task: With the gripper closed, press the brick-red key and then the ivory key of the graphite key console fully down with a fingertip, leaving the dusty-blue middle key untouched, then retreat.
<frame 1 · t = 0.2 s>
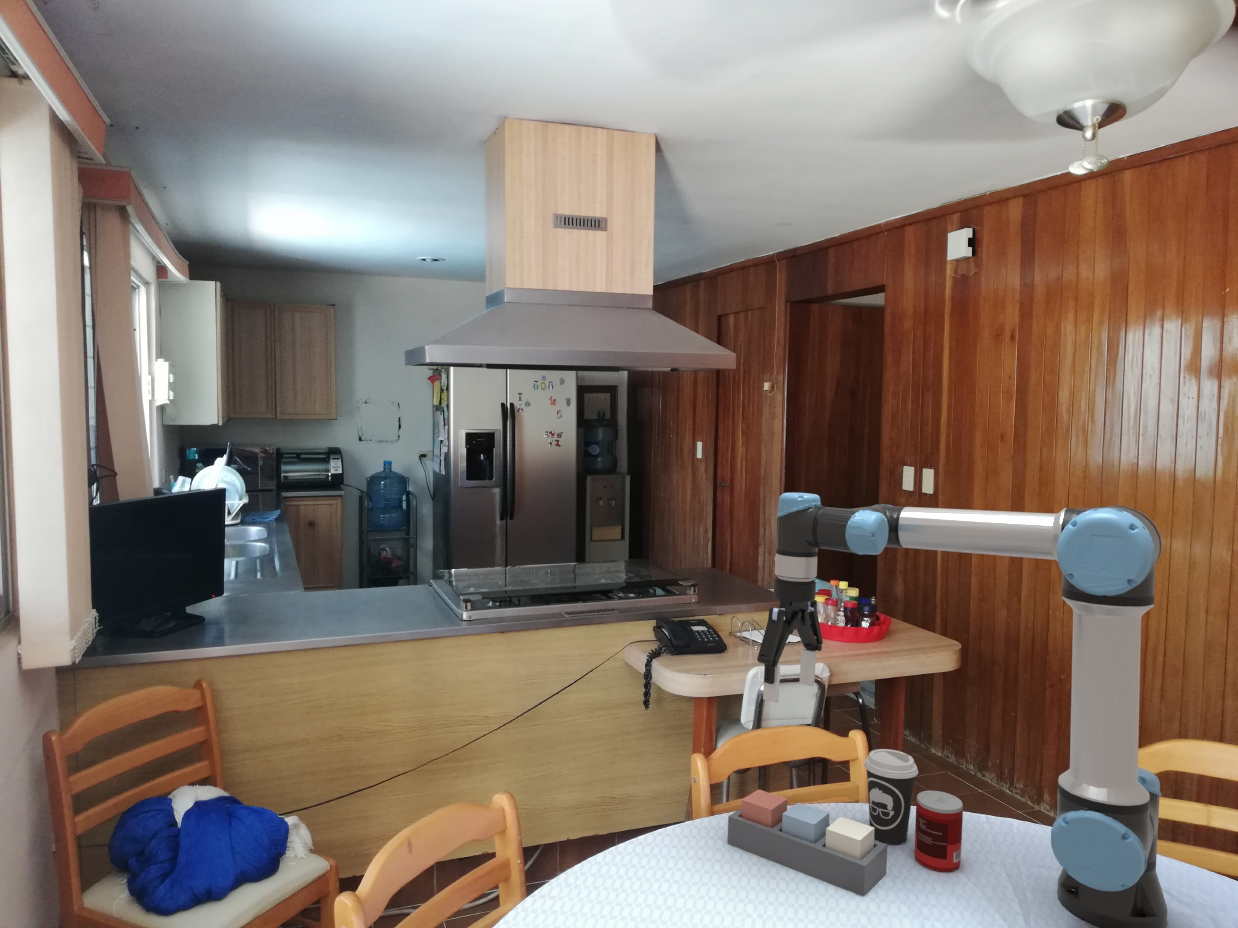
hand: (789, 692, 153), 27 cm above the table, fingers open, 13 cm apart
key blue: (805, 824, 146), point 6 cm above the table, slide at 0.0 cm
key brick: (764, 809, 151), point 6 cm above the table, slide at 0.0 cm
console: (804, 857, 147), on the table
coffee cup: (888, 837, 155), on the table
key ivory: (849, 839, 141), point 6 cm above the table, slide at 0.0 cm
canned food: (937, 861, 147), on the table
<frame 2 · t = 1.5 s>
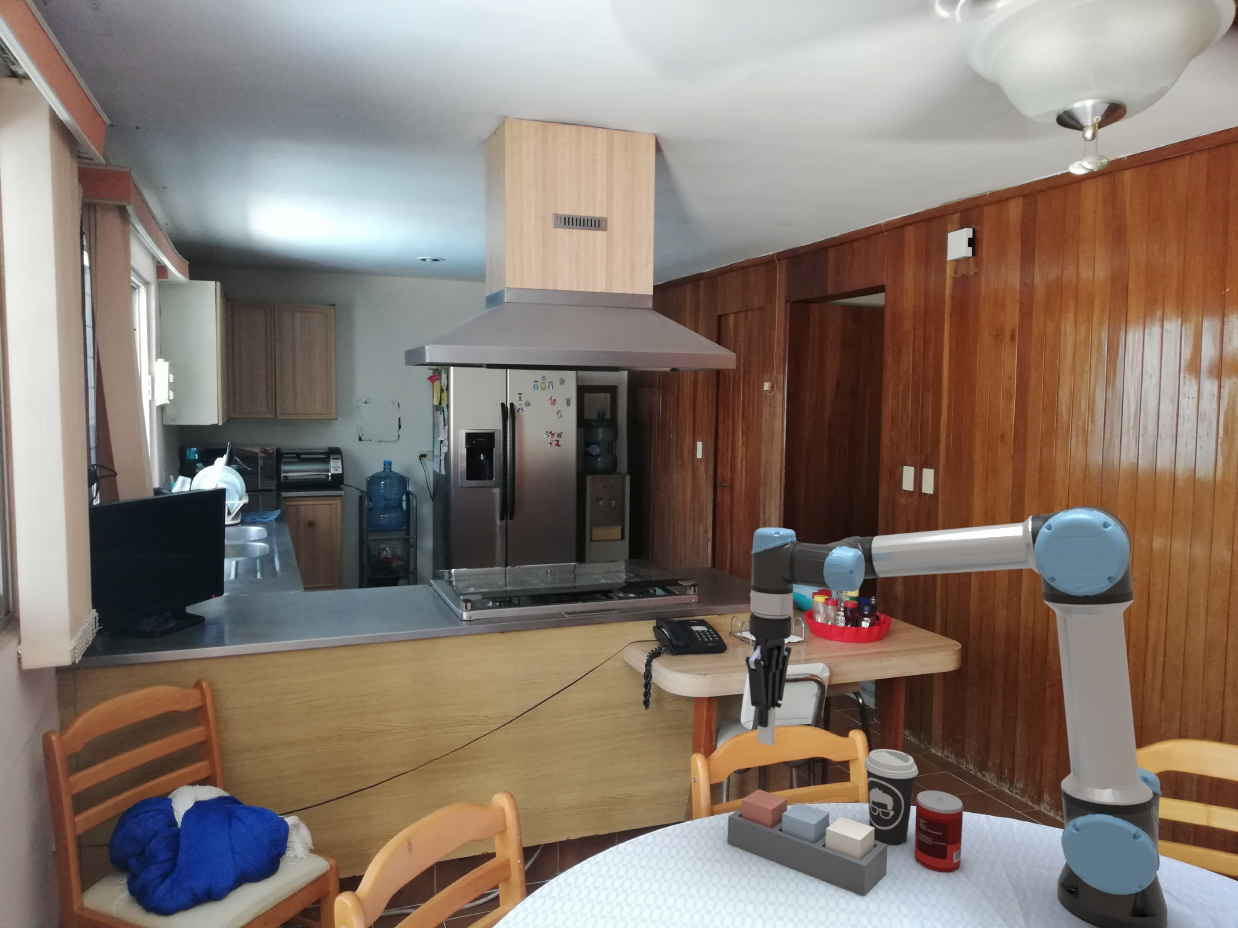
hand: (765, 742, 151), 18 cm above the table, fingers closed
nothing on the table moved.
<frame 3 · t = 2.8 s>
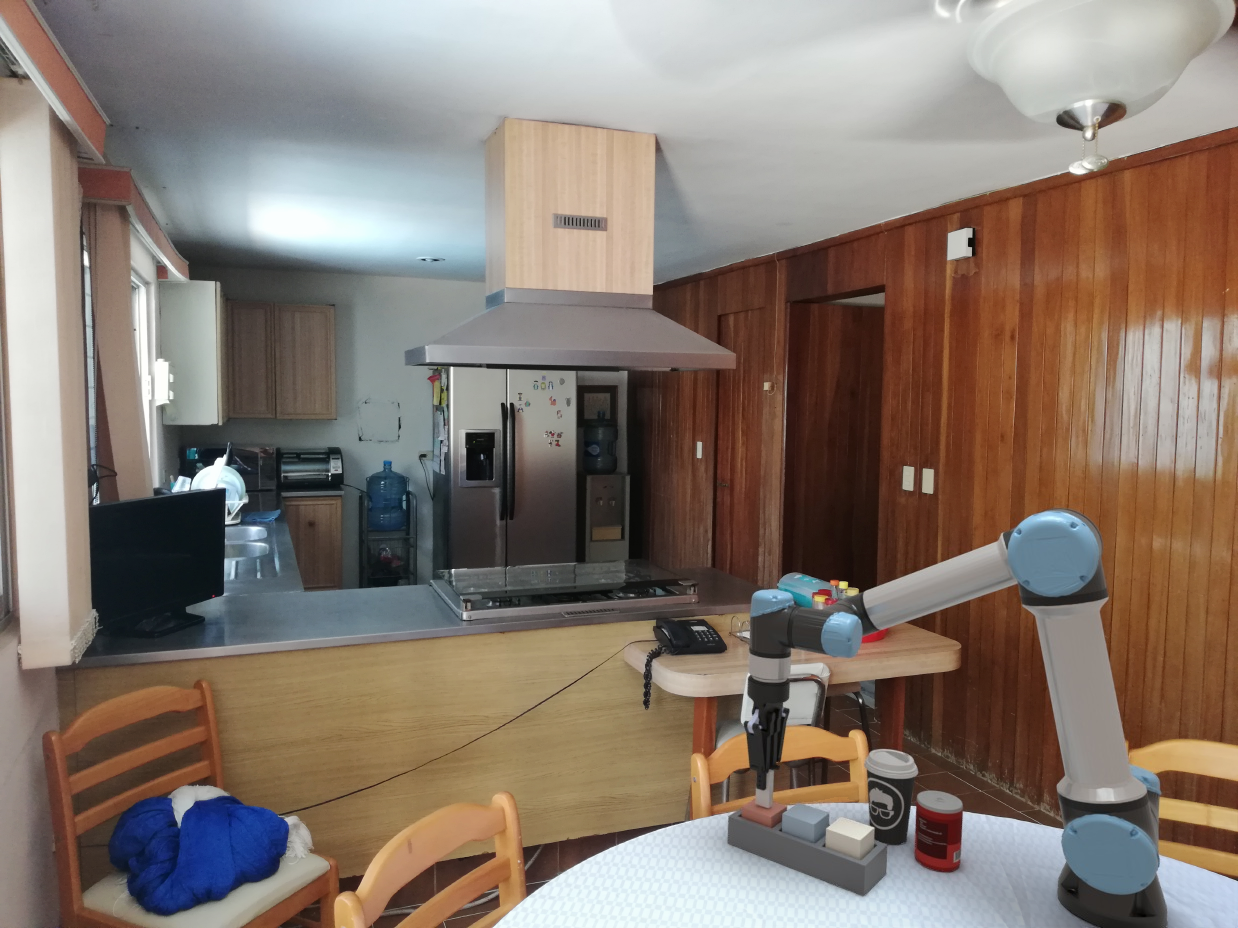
hand: (763, 804, 152), 7 cm above the table, fingers closed
key brick: (764, 816, 152), point 5 cm above the table, slide at 1.3 cm, touching gripper
everything else where it was.
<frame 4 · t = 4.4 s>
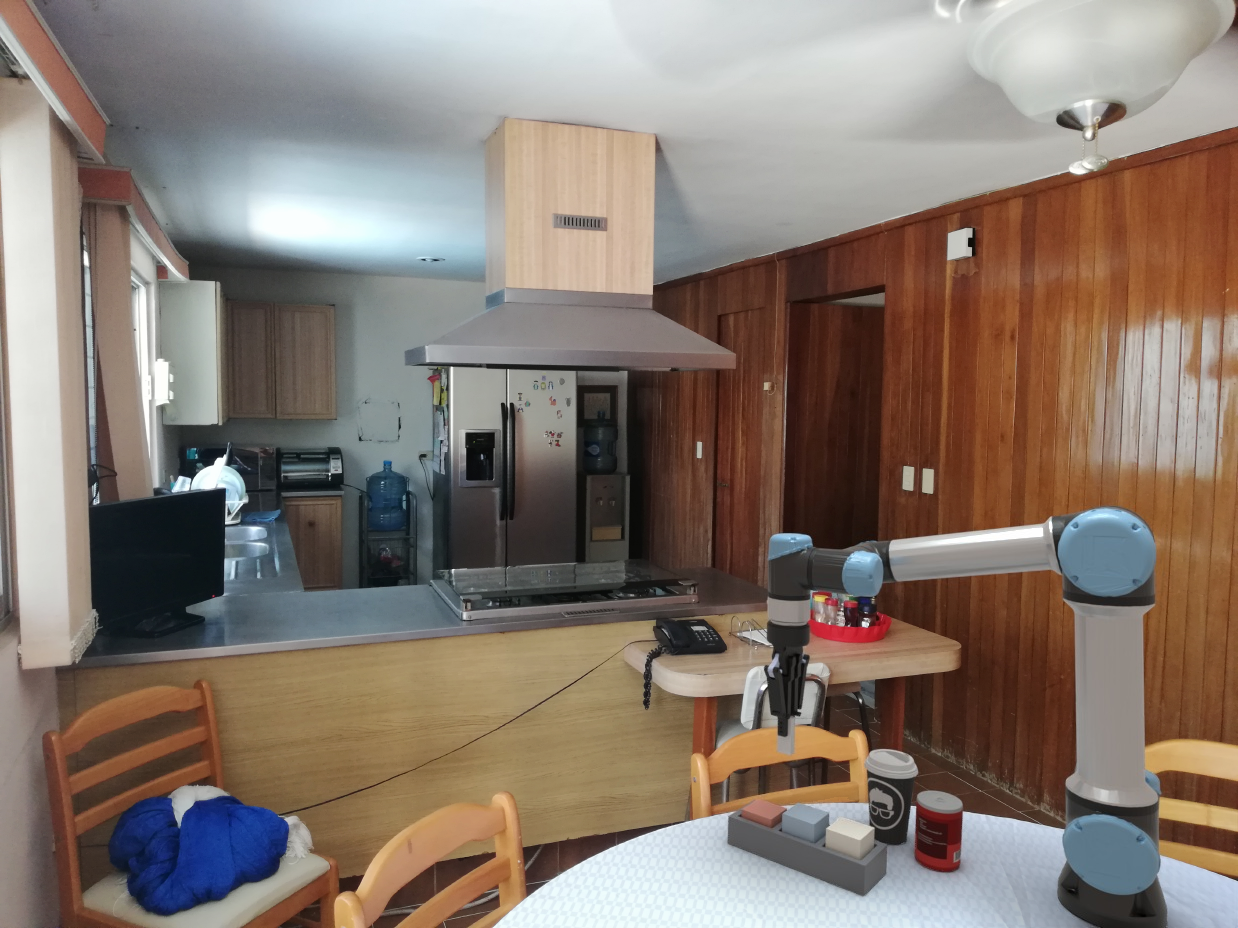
hand: (785, 752, 149), 18 cm above the table, fingers closed
key brick: (764, 819, 152), point 4 cm above the table, slide at 1.8 cm
everything else where it was.
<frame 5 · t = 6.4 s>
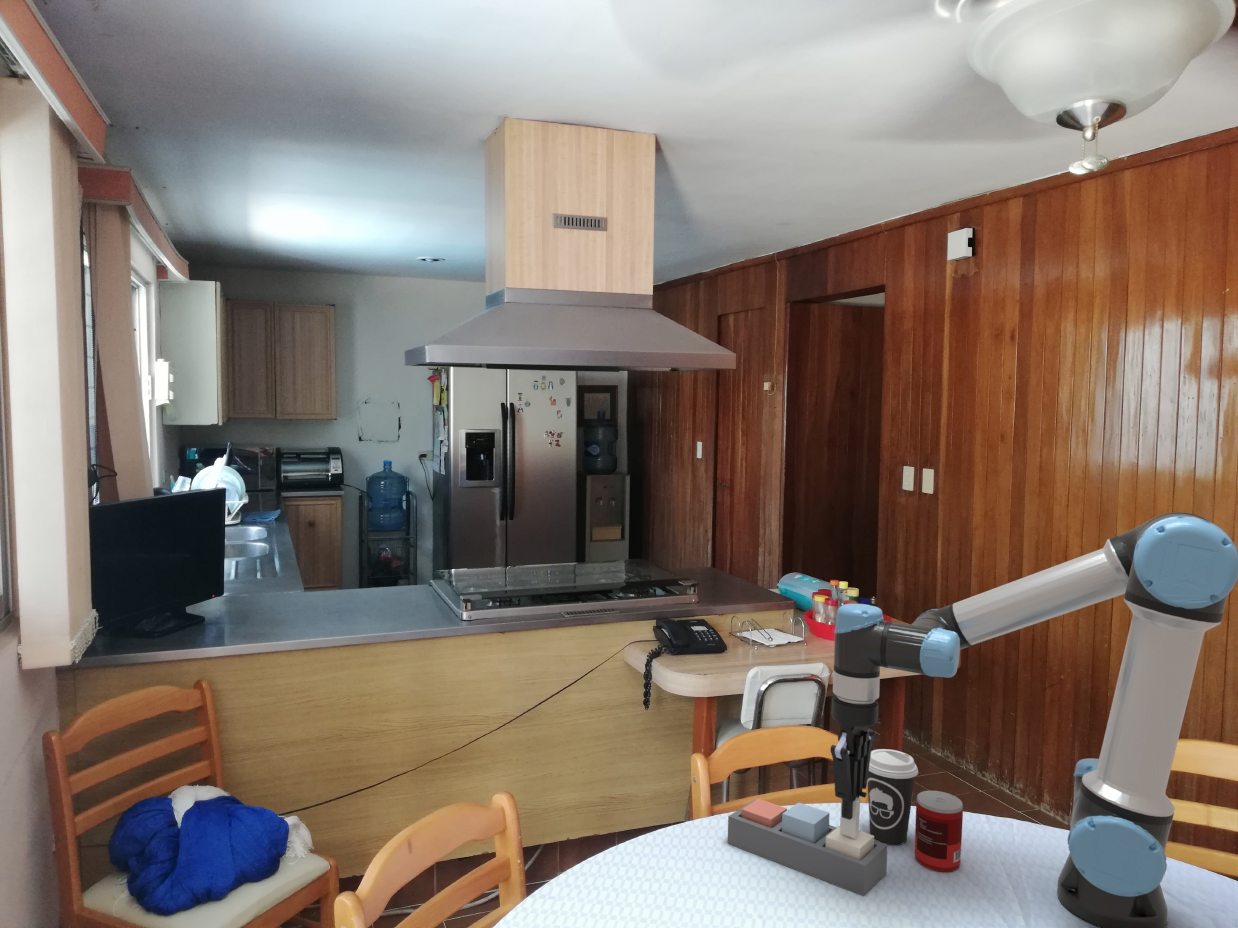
hand: (849, 834, 141), 7 cm above the table, fingers closed
key ivory: (849, 847, 141), point 5 cm above the table, slide at 1.4 cm, touching gripper
everything else where it was.
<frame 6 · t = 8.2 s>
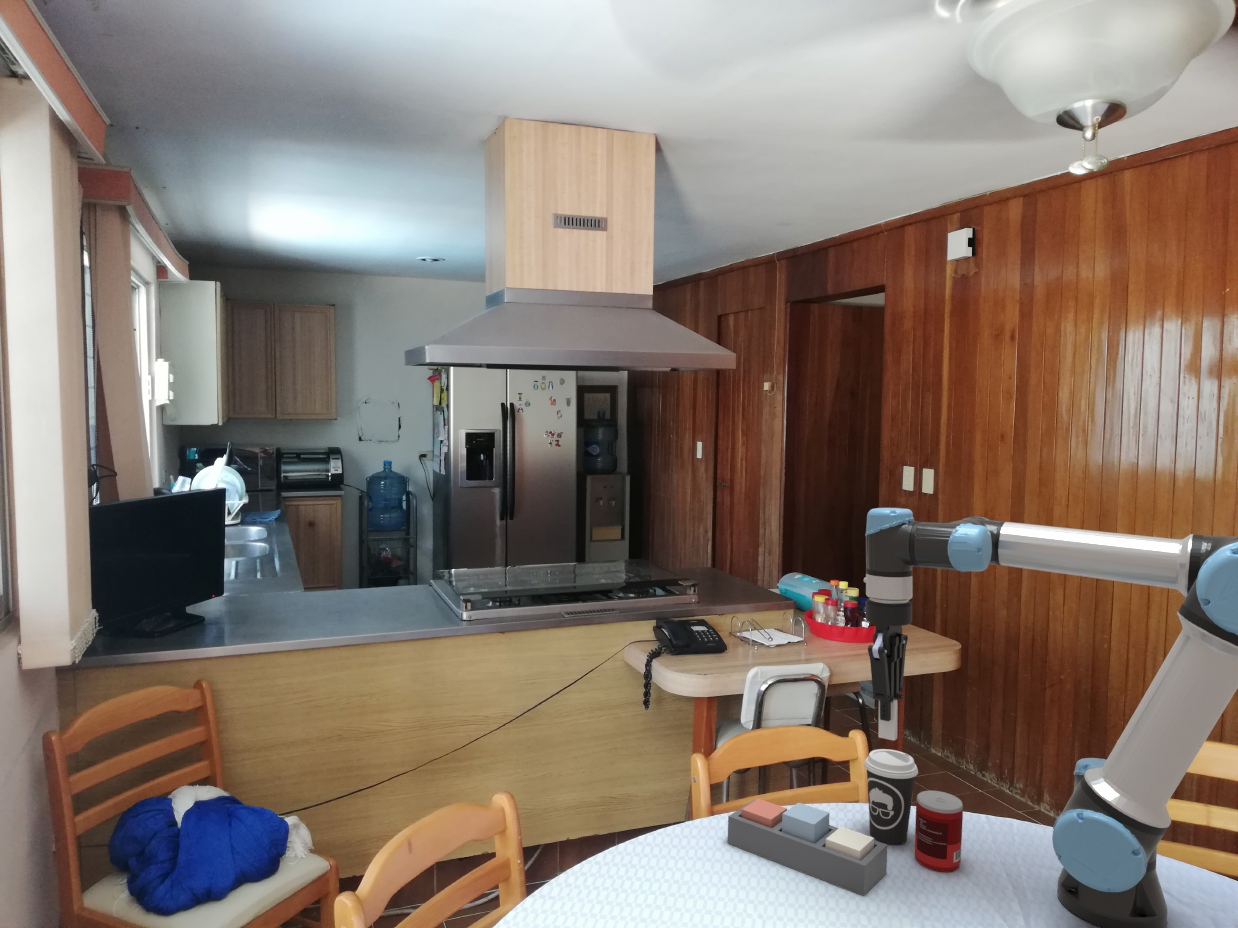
hand: (887, 737, 142), 23 cm above the table, fingers closed
key ivory: (849, 849, 141), point 4 cm above the table, slide at 1.8 cm
everything else where it was.
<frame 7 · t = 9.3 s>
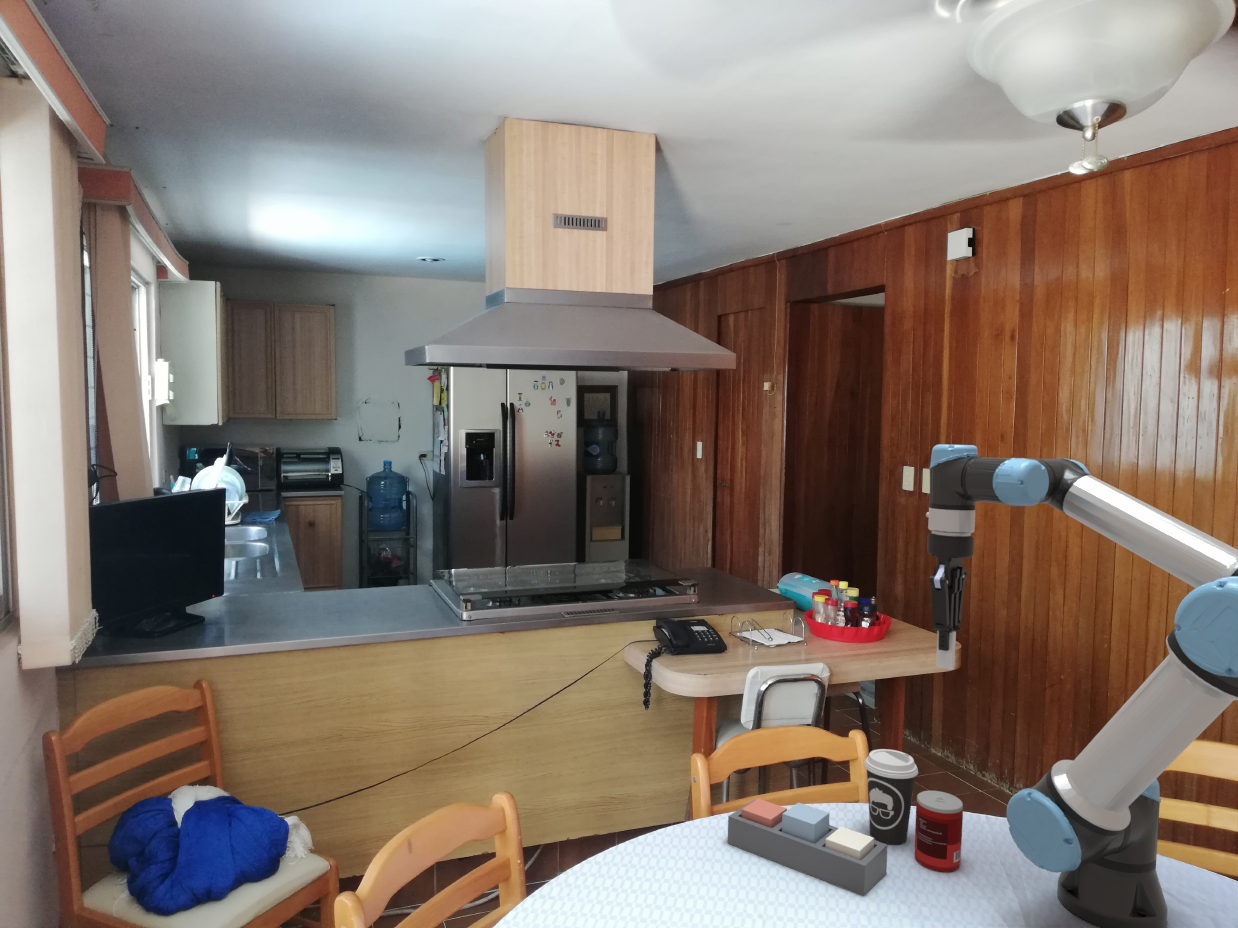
hand: (945, 667, 145), 34 cm above the table, fingers closed
nothing on the table moved.
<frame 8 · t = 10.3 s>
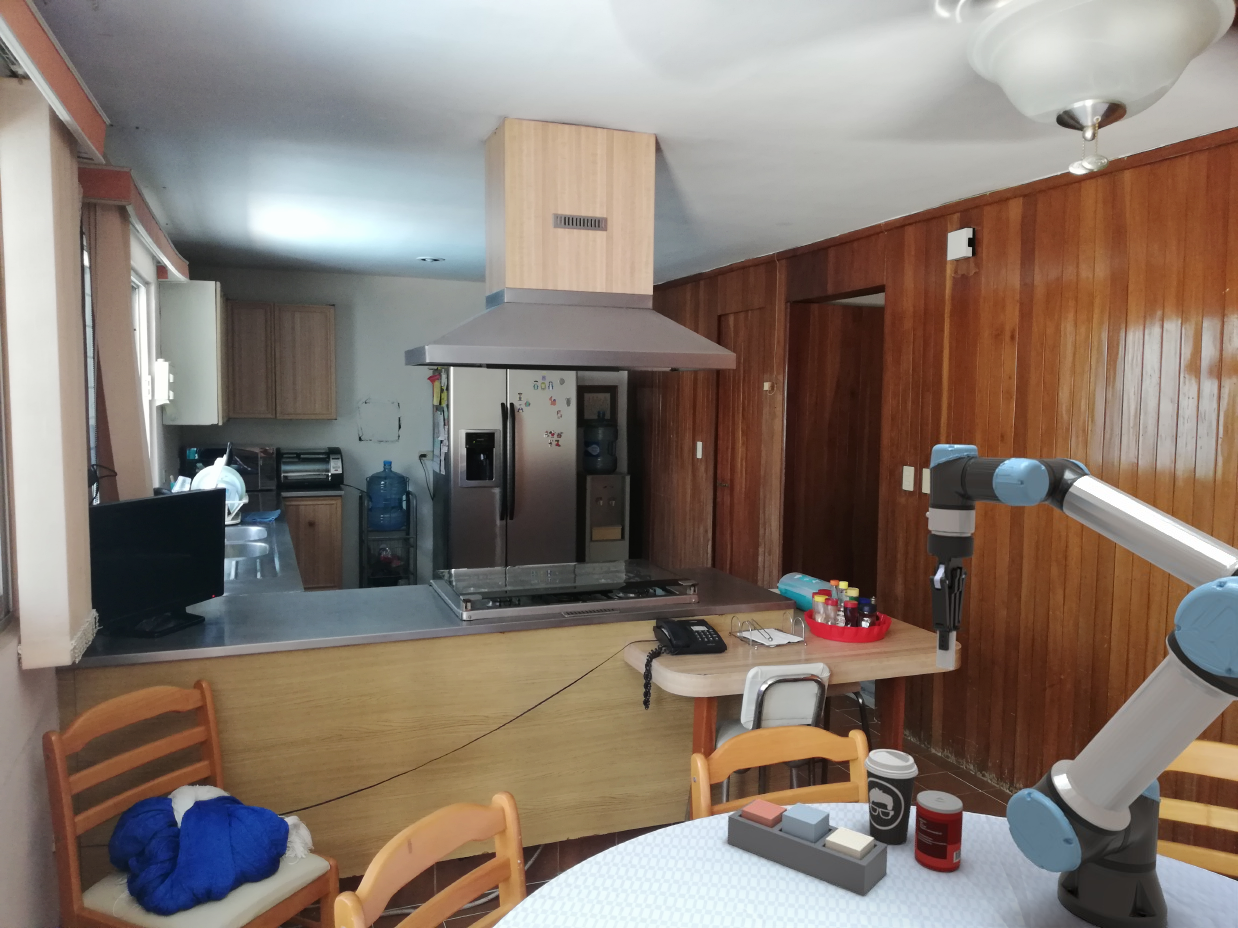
hand: (945, 667, 146), 34 cm above the table, fingers closed
nothing on the table moved.
at the end: key brick slide at 1.8 cm; key ivory slide at 1.8 cm; key blue slide at 0.0 cm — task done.
